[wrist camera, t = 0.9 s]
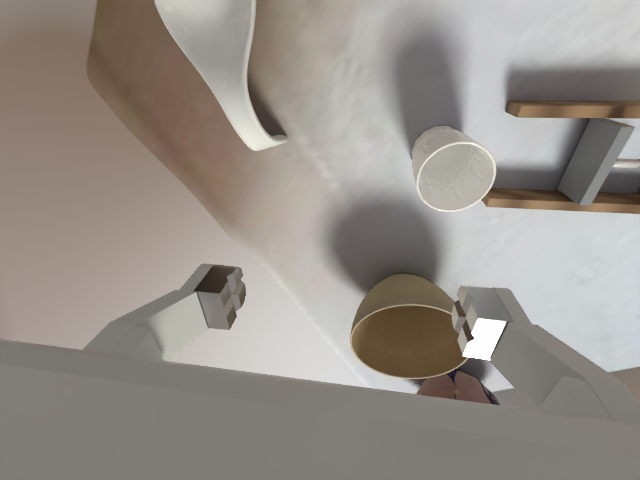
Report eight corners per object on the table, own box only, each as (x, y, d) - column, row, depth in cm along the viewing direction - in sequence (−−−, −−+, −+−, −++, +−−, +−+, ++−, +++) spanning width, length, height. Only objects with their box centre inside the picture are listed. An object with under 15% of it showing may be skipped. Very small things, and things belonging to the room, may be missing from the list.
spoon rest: (146, -51, 31) (94, -74, 25) (236, -109, 28) (201, -150, 22) (242, 154, 43) (222, 171, 37) (314, 131, 40) (304, 146, 34)
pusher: (556, 188, 38) (579, 205, 34) (591, 117, 33) (621, 127, 29) (601, 190, 38) (629, 207, 34) (643, 117, 33) (682, 127, 29)
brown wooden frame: (478, 195, 41) (493, 215, 36) (508, 100, 34) (532, 109, 29) (640, 202, 38) (680, 225, 33) (709, 101, 31) (773, 110, 26)
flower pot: (334, 289, 55) (326, 341, 45) (406, 232, 46) (415, 283, 36) (399, 334, 60) (404, 392, 50) (476, 292, 51) (501, 351, 41)
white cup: (417, 187, 42) (429, 221, 33) (398, 138, 38) (406, 162, 30) (475, 164, 39) (503, 195, 30) (459, 108, 35) (486, 126, 27)
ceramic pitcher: (423, 404, 73) (444, 542, 53) (393, 356, 64) (404, 501, 44) (498, 396, 67) (554, 550, 46) (476, 341, 58) (534, 503, 37)
